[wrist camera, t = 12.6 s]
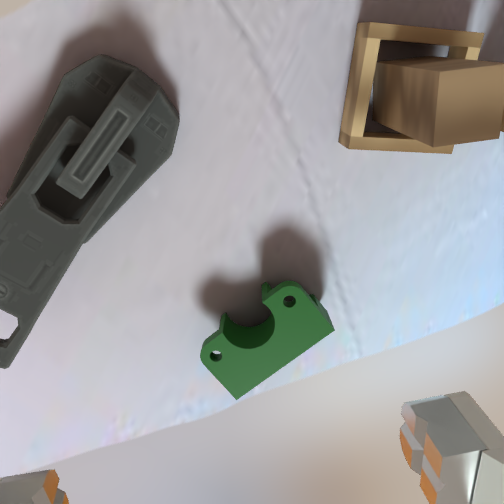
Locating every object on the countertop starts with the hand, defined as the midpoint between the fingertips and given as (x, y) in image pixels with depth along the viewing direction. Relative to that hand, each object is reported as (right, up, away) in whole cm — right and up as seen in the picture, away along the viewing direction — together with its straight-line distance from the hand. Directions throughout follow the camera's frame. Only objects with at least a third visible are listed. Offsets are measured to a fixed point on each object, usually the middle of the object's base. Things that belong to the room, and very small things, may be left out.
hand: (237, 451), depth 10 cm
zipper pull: (-15, +9, +26) cm, 32 cm away
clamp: (+1, -1, +34) cm, 34 cm away
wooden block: (+12, +18, +26) cm, 34 cm away
